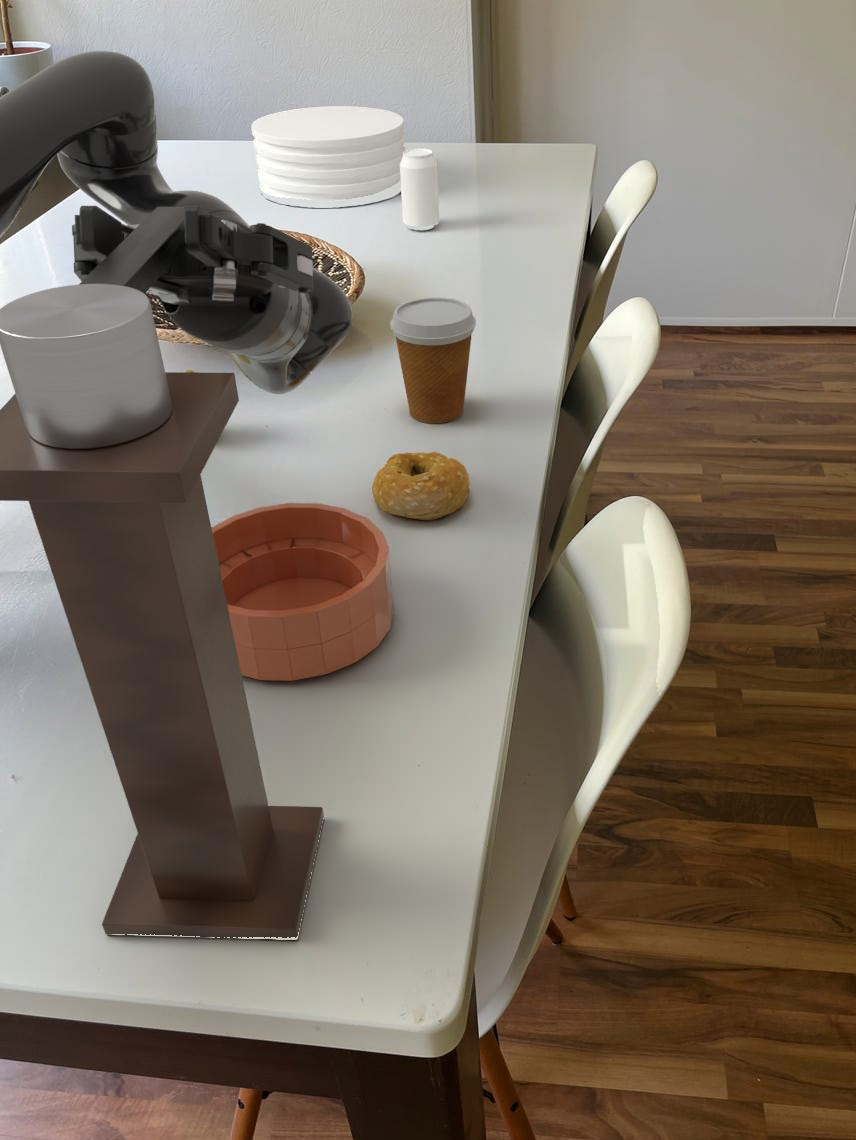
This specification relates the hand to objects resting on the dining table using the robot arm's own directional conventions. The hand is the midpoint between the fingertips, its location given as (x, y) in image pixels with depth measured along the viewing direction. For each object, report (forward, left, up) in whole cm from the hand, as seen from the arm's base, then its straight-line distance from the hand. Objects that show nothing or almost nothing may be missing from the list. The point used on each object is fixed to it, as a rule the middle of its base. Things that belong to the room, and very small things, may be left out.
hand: (139, 227), depth 51 cm
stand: (0, -10, -38) cm, 39 cm away
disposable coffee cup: (+9, +58, -38) cm, 70 cm away
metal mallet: (0, -3, -6) cm, 6 cm away
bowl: (0, +17, -38) cm, 42 cm away
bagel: (+9, +38, -38) cm, 55 cm away
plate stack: (-18, +154, -38) cm, 160 cm away
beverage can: (+1, +129, -38) cm, 135 cm away
